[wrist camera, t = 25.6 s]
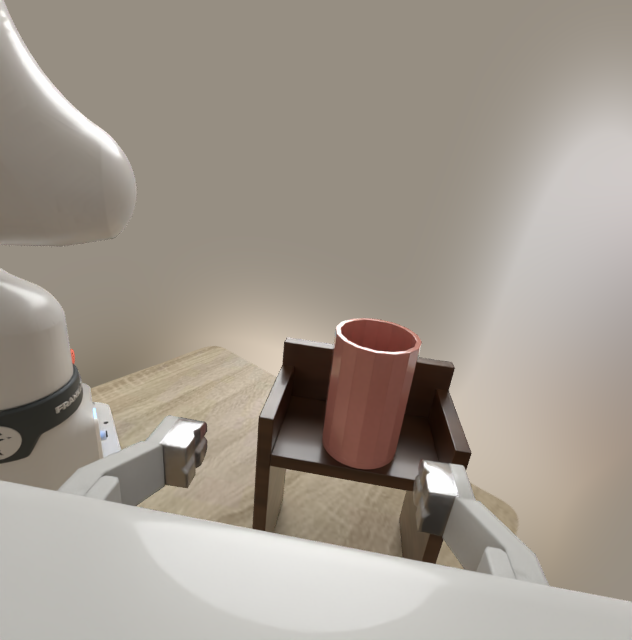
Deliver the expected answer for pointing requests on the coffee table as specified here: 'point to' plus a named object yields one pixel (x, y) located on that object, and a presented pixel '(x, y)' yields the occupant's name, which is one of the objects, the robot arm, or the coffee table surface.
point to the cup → (368, 391)
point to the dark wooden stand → (310, 456)
